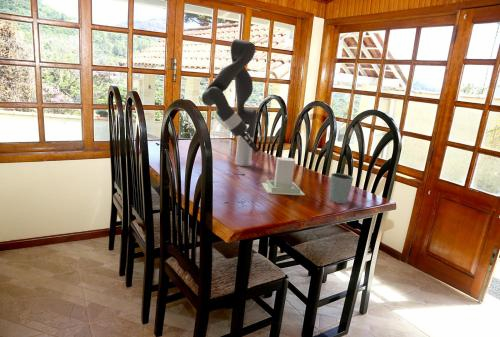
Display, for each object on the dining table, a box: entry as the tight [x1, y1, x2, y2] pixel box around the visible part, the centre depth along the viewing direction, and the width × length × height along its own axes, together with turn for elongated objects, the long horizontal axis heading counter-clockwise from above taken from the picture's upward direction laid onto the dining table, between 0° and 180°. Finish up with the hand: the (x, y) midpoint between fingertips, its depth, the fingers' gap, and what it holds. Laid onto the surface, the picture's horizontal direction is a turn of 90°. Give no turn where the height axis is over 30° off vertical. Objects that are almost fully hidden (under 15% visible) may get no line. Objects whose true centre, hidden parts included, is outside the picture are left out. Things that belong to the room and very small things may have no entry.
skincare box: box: [273, 156, 296, 188], centre depth 169 cm, size 8×6×15 cm
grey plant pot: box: [328, 172, 354, 204], centre depth 164 cm, size 10×10×12 cm
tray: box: [261, 179, 306, 196], centre depth 171 cm, size 14×18×3 cm
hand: (256, 149), depth 169 cm, fingers open, 8 cm apart
